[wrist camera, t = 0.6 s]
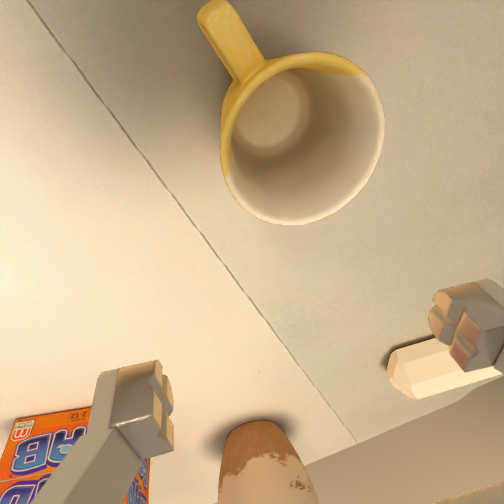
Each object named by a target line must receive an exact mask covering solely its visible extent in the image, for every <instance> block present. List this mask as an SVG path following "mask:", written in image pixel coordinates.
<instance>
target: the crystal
mask: <svg viewBox="0 0 504 504" xmlns="http://www.w3.org/2000/svg"><path fill="white" fill-rule="evenodd" d="M493 367H494V366H491V367H487V368H483V369H479V370H474V371H470V372H466V373H465V372H464V371H463V370H462V369H461V367H460V366H459V365H458V364H457V363H456V361H455V360H454V359H453V358H452V357H451V355H450V354H449V346H448V345H446V344H444V343H442V342H440V341H438V339H437V338H434V339H430V340H427V341H424V342H420V343H417V344H414V345H410V346H407V347H404V348H400V349H397V350H395V351H394V352H392V353H391V356H390V359H389V363H388V367H387V375H388V378H389V380H390V382H391V384H392V385H393V386H394V387H395V388H397V389H398V390H400V391H401V392H402V393H404V394H405V395H406V396H408V397H409V398H411V399H417V400H418V399H421V398H424V397H428V396H431V395H434V394H437V393H441V392H444V391H447V390H450V389H454V388H457V387H460V386H464V385H467V384H470V383H473V382H477V381H480V380H483V379H486V378H490V377H493V376H496V375H499V374H503V373H501V372H499V371H498V370H496V369H494V368H493Z"/></svg>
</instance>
